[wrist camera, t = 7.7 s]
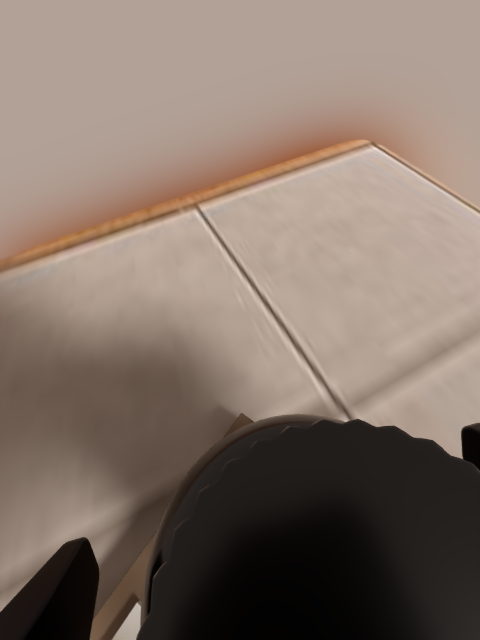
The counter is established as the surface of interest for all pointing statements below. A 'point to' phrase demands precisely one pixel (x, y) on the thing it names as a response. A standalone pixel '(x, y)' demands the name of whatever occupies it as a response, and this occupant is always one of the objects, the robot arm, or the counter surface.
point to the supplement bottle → (318, 539)
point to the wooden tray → (132, 591)
